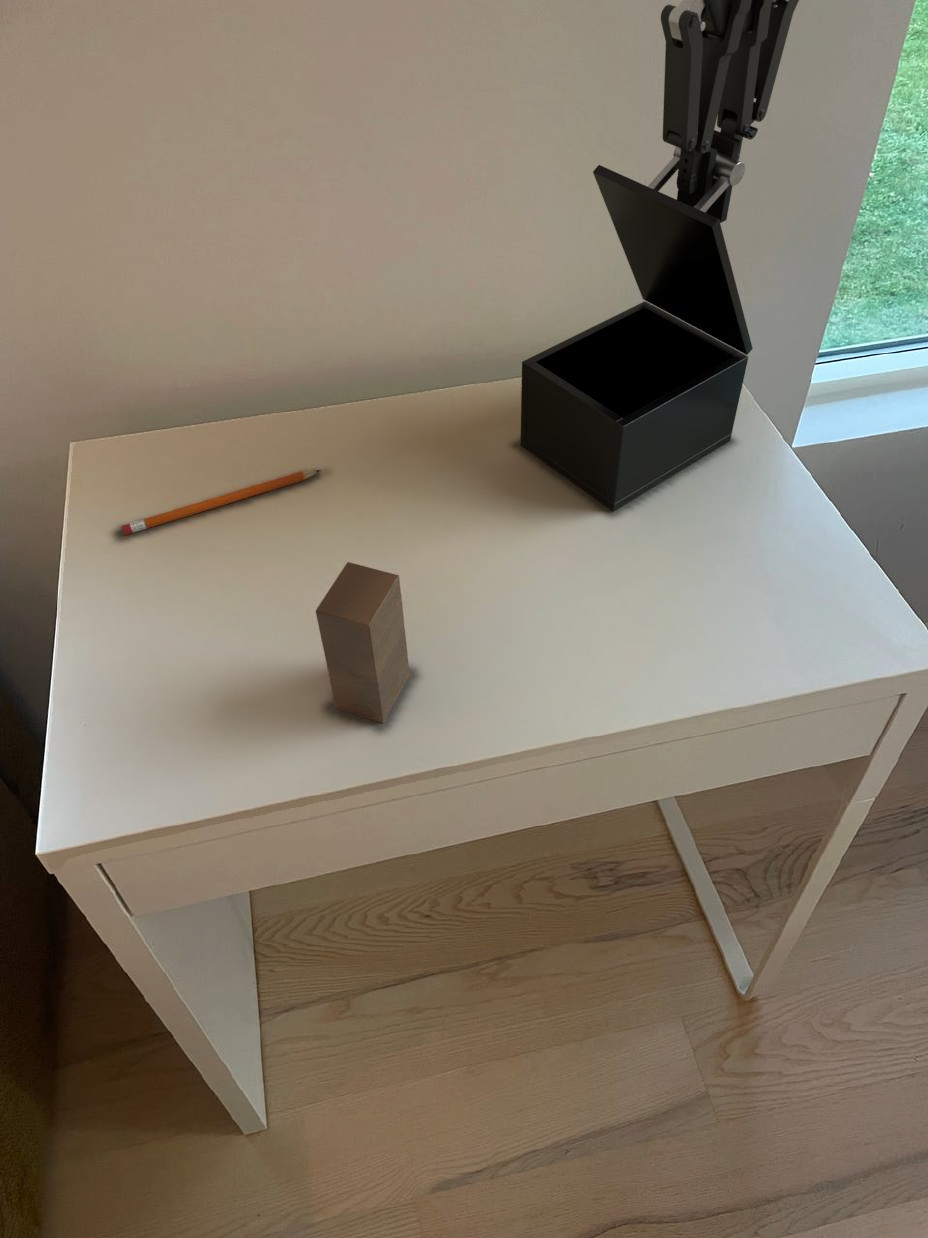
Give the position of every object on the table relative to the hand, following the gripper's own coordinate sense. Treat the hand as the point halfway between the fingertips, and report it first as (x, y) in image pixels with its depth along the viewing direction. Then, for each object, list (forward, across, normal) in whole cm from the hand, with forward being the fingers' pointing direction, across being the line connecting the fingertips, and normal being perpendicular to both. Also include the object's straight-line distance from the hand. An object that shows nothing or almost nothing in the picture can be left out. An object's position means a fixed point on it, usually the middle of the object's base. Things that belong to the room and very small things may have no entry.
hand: (700, 220), depth 81 cm
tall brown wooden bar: (+20, +42, +9) cm, 48 cm away
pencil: (+20, +40, -18) cm, 48 cm away
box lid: (+3, +3, 0) cm, 4 cm away
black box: (+20, +6, 0) cm, 21 cm away
